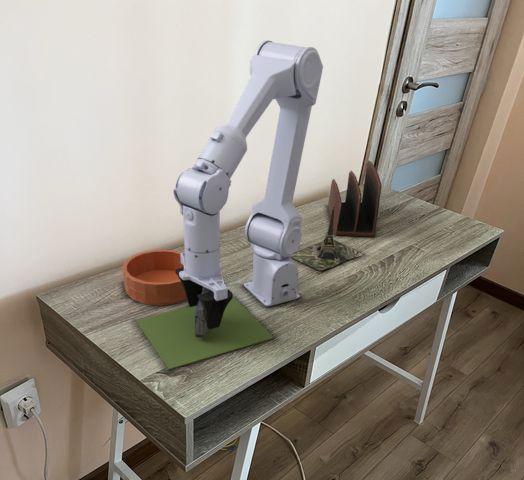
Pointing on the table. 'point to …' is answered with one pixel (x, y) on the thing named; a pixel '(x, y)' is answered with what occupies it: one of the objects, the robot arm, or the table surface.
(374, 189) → the letter holder
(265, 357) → the table surface
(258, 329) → the cloth
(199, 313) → the mini dv tape
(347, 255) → the eiffel tower figurine
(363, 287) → the table surface
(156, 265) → the pot
